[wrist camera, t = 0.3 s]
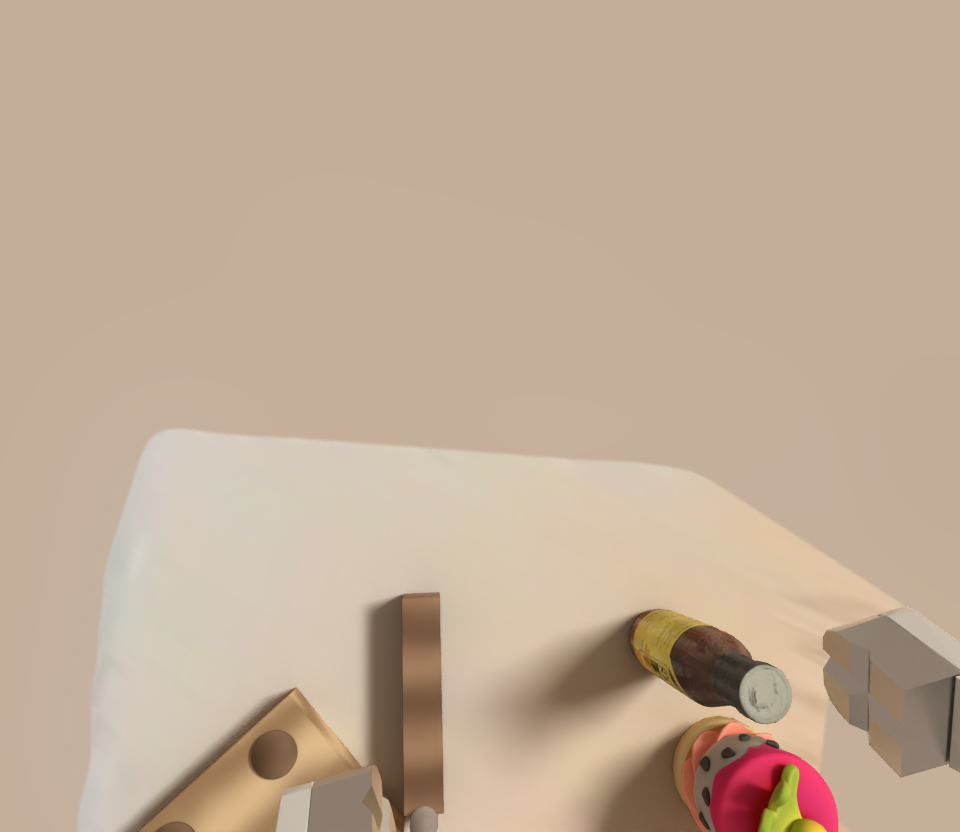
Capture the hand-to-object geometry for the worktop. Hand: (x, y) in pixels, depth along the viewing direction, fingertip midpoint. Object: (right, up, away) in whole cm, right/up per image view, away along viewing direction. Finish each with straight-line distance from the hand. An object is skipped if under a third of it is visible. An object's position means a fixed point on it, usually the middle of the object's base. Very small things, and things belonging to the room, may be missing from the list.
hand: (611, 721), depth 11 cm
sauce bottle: (+16, -17, +52) cm, 57 cm away
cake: (+22, -30, +51) cm, 62 cm away
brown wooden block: (-8, -22, +49) cm, 55 cm away
